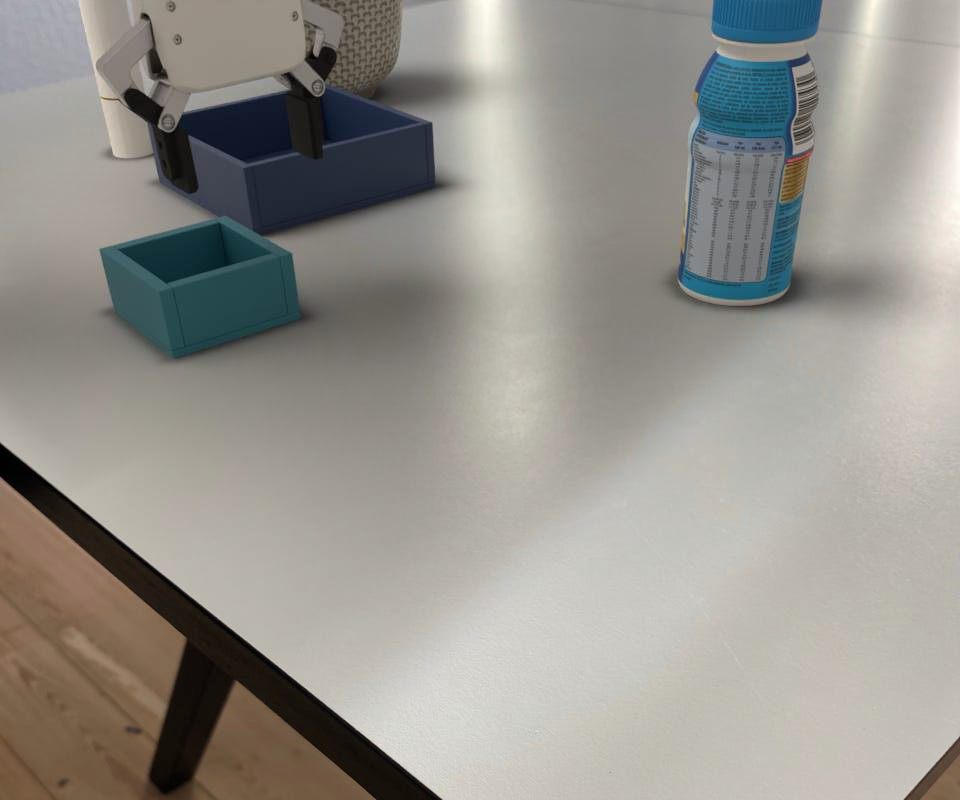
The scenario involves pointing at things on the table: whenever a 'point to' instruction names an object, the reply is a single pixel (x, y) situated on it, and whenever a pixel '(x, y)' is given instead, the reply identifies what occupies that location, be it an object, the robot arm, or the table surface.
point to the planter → (361, 43)
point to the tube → (126, 129)
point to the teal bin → (201, 285)
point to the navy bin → (302, 159)
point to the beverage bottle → (749, 152)
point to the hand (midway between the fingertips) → (248, 171)
